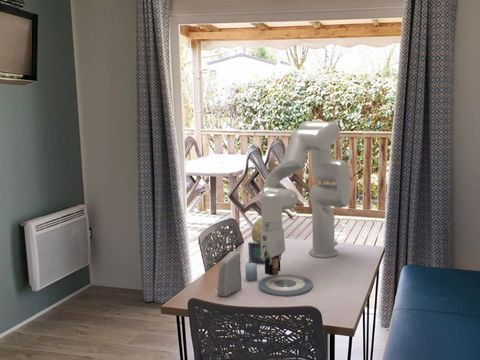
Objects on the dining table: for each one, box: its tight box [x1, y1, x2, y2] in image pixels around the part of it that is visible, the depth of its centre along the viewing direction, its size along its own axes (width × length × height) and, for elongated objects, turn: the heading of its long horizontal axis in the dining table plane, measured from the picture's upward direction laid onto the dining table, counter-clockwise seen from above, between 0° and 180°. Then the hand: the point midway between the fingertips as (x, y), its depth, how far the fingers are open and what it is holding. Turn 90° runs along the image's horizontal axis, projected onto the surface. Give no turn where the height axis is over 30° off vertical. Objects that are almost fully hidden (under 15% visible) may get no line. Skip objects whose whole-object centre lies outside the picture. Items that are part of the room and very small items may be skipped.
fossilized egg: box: [251, 216, 262, 242], centre depth 244 cm, size 13×13×15 cm
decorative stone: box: [216, 250, 242, 297], centre depth 191 cm, size 11×6×15 cm, turn 148°
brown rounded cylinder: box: [267, 257, 279, 276], centre depth 198 cm, size 4×4×6 cm
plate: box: [258, 273, 314, 297], centre depth 196 cm, size 20×20×1 cm
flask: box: [247, 238, 268, 265], centre depth 223 cm, size 9×3×11 cm, turn 71°
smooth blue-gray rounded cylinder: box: [244, 262, 258, 282], centre depth 204 cm, size 4×4×6 cm
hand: (272, 271), depth 199 cm, fingers closed on brown rounded cylinder, 4 cm apart
